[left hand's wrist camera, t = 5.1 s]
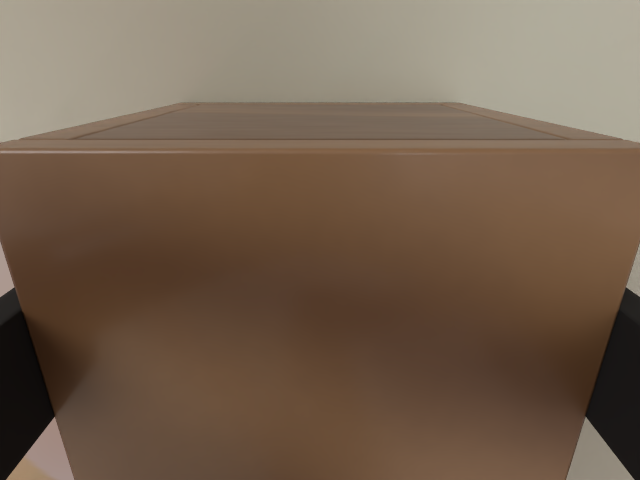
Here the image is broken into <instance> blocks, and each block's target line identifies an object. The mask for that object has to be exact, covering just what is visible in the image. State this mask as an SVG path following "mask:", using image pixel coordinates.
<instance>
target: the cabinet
mask: <svg viewBox="0 0 640 480" xmlns="http://www.w3.org/2000/svg"><path fill="white" fill-rule="evenodd" d="M0 242H1V245H2V248H3V251H4V254H5V258H6V261H7V264H8V267H9V270H10V274H11V277H12V280H13V283H14V287H15V290H16V293H17V296H18V299H19V303H20V306H21V309H22V312H23V316H24V319H25V322H26V325H27V328H28V332H29V335H30V338H31V341H32V345H33V348H34V351H35V354H36V357H37V361H38V364H39V367H40V370H41V373H42V377H43V380H44V383H45V386H46V390H47V393H48V396H49V399H50V402H51V406H52V409H53V412H54V415H55V418H56V422H57V425H58V428H59V431H60V435H61V438H62V441H63V444H64V447H65V451H66V454H67V457H68V460H69V463H70V467H71V470H72V473H73V476H74V479H75V480H566V477H567V474H568V471H569V468H570V464H571V461H572V458H573V455H574V452H575V448H576V445H577V442H578V439H579V436H580V432H581V429H582V426H583V423H584V420H585V416H586V413H587V410H588V407H589V404H590V400H591V397H592V394H593V391H594V388H595V384H596V381H597V378H598V375H599V372H600V368H601V365H602V362H603V359H604V356H605V352H606V349H607V346H608V343H609V340H610V336H611V333H612V330H613V327H614V324H615V320H616V317H617V314H618V311H619V308H620V304H621V301H622V298H623V295H624V292H625V288H626V285H627V282H628V279H629V276H630V272H631V269H632V266H633V263H634V260H635V256H636V253H637V250H638V247H639V244H640V143H637V142H633V141H628V140H623V139H620V138H616V137H611V136H607V135H602V134H598V133H593V132H589V131H584V130H579V129H575V128H570V127H566V126H561V125H557V124H552V123H548V122H543V121H539V120H534V119H530V118H525V117H521V116H516V115H512V114H507V113H502V112H498V111H493V110H489V109H484V108H480V107H475V106H471V105H467V104H462V103H177V104H173V105H169V106H165V107H160V108H156V109H151V110H147V111H142V112H138V113H133V114H129V115H124V116H120V117H115V118H111V119H106V120H102V121H97V122H93V123H88V124H84V125H79V126H75V127H70V128H66V129H61V130H57V131H52V132H48V133H43V134H39V135H34V136H30V137H25V138H21V139H19V140H12V141H7V142H2V143H0Z"/></svg>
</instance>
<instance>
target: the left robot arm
mask: <svg viewBox="0 0 640 480" xmlns="http://www.w3.org/2000/svg"><path fill="white" fill-rule="evenodd" d="M54 417H55V415H54V412H53V409H52V406H51V402H50V399H49V396H48V393H47V390H46V386H45V383H44V380H43V377H42V373H41V370H40V367H39V364H38V361H37V357H36V354H35V351H34V348H33V345H32V341H31V338H30V335H29V332H28V328H27V325H26V322H25V319H24V316H23V312H22V309H21V306H20V303H19V299H18V296H17V293H16V290H15V287H14V288H13V289H12V290H10V291H9V292H7V293H6V294H4V295H3V296H2V297H0V480H6V479H7V478H8V476H9V475H10V474H11V472H12V471H13V470H14V469H15V467H16V466H17V465H18V463H19V462H20V461H21V459H22V458H23V457H24V456H25V454H26V453H27V452H28V450H29V449H30V448H31V447H32V445H33V444H34V443H35V441H36V440H37V439H38V437H39V436H40V435H41V434H42V432H43V431H44V430H45V428H46V427H47V426H48V424H49V423H50V422H51V421H52V419H53V418H54ZM586 417H587V419H588V420H589V421H590V423H591V424H592V425H593V427H594V428H595V429H596V430H597V432H598V433H599V434H600V436H601V437H602V438H603V439H604V441H605V442H606V443H607V445H608V446H609V447H610V449H611V450H612V451H613V452H614V454H615V455H616V456H617V458H618V459H619V460H620V461H621V463H622V464H623V465H624V467H625V468H626V469H627V470H628V472H629V473H630V474H631V476H632V477H633V478H634V480H640V297H639V296H638V295H636V294H635V293H633V292H632V291H630V290H629V289H628V288H625V292H624V295H623V298H622V301H621V304H620V308H619V311H618V314H617V317H616V320H615V324H614V327H613V330H612V333H611V336H610V340H609V343H608V346H607V349H606V352H605V356H604V359H603V362H602V365H601V368H600V372H599V375H598V378H597V381H596V384H595V388H594V391H593V394H592V397H591V400H590V404H589V407H588V410H587V413H586Z"/></svg>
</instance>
